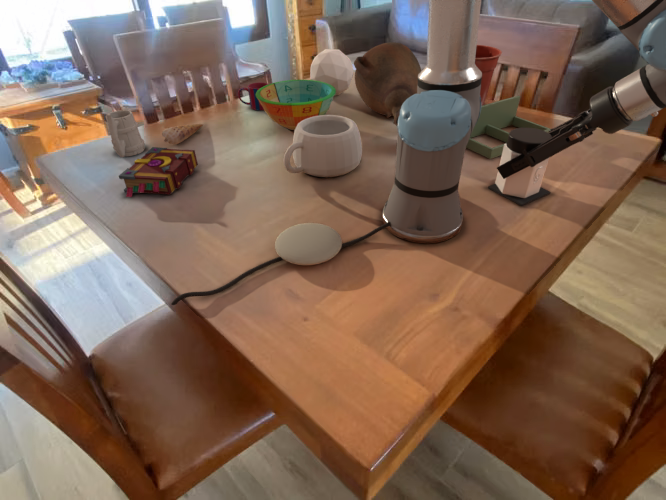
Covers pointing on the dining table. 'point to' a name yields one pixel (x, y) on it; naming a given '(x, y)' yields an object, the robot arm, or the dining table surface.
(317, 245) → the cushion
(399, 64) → the jug
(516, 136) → the jar
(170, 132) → the seashell
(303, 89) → the bowl
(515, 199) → the mat
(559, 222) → the dining table surface
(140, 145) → the mug
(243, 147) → the dining table surface
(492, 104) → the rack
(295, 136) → the mug
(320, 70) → the geometric sphere
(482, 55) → the flower pot
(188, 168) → the decorative book
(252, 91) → the cup
